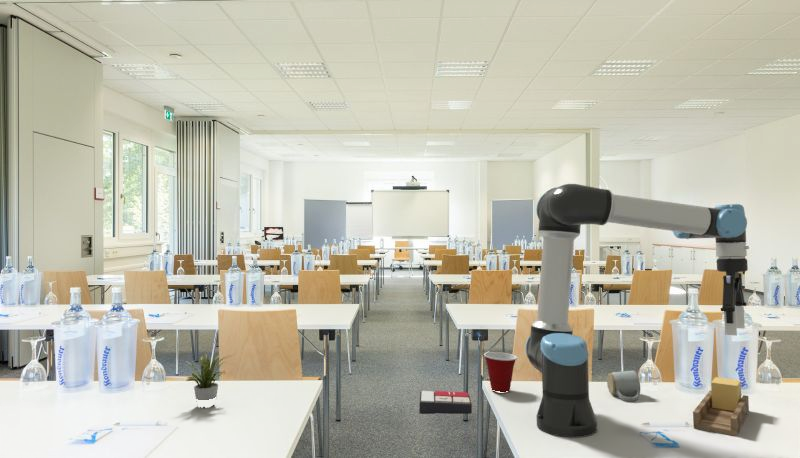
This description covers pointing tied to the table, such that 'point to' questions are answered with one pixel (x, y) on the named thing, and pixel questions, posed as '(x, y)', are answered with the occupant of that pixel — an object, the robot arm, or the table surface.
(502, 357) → the plastic cup
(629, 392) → the ceramic mug
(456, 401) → the black red white box
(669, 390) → the table surface
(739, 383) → the mustard block
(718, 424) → the walnut chute
